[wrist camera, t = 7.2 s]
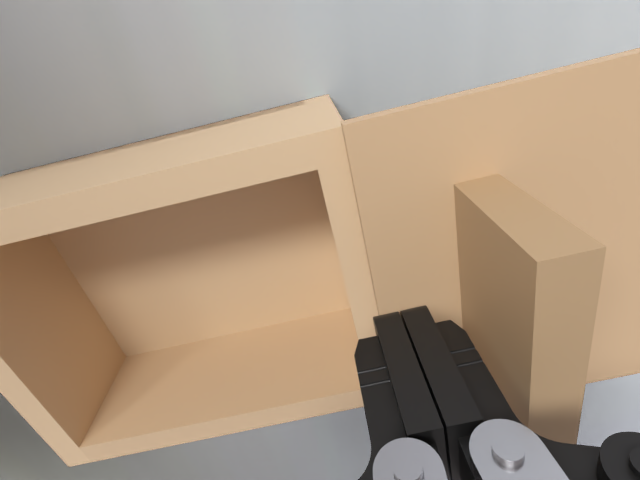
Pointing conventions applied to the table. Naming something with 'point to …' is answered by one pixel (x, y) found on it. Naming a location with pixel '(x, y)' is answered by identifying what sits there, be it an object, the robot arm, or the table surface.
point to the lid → (515, 226)
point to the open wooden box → (185, 285)
